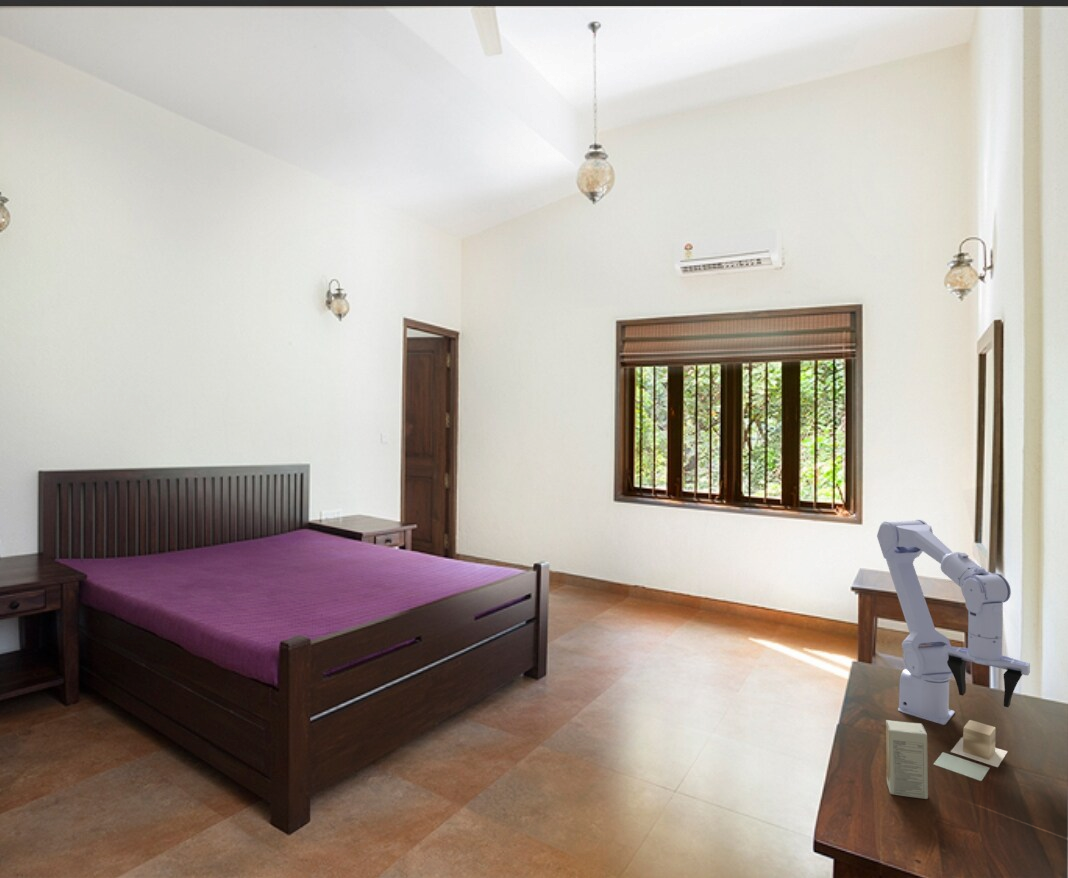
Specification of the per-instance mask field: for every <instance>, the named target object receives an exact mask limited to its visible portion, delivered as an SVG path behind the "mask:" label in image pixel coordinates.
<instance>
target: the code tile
mask: <svg viewBox="0 0 1068 878" xmlns="http://www.w3.org/2000/svg"><path fill="white" fill-rule="evenodd" d="M950 753H953V754H957V755H960V756H963V757H965V758H968V759H971V760H974V761H976V762H977V761H978V762H980V763H984V764H987V765H989V766H992V767H996V768H998V767H999V766H1000V764H1001V763H1002V761H1003V760H1004V758H1005V756H1006V755H1007V753H1008V750H1004V749H1001V748H997V747H995V752H994V754H993V755H992V757H991V758H990V760H988V759H985V758H982V757H978V756H975V755H972V754H969V753H966V752H963V736H962V737H960V738H959V740H958V741H957V742H956V744H954V747H952V748H951V750H950Z"/></svg>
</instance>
